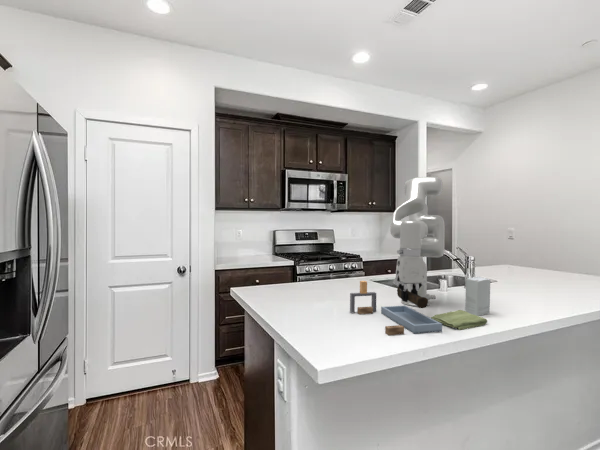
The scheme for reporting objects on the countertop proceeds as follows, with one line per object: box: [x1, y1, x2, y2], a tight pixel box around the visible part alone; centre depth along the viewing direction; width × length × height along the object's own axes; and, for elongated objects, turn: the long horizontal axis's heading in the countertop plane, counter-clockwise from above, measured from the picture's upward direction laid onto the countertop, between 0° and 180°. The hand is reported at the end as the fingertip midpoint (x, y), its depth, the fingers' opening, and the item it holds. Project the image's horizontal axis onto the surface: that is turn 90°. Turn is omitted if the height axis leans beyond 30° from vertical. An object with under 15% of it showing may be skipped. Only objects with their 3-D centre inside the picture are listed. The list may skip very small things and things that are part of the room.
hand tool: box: [396, 286, 428, 309], centre depth 122 cm, size 19×4×5 cm, turn 7°
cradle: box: [357, 306, 405, 336], centre depth 121 cm, size 6×26×2 cm, turn 13°
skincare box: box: [464, 276, 491, 317], centre depth 134 cm, size 8×6×15 cm
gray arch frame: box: [349, 280, 377, 314], centre depth 135 cm, size 11×2×13 cm, turn 103°
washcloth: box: [430, 309, 488, 331], centre depth 122 cm, size 13×18×3 cm
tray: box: [380, 304, 443, 335], centre depth 122 cm, size 11×24×3 cm, turn 13°
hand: (409, 300), depth 122 cm, fingers closed on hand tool, 3 cm apart
